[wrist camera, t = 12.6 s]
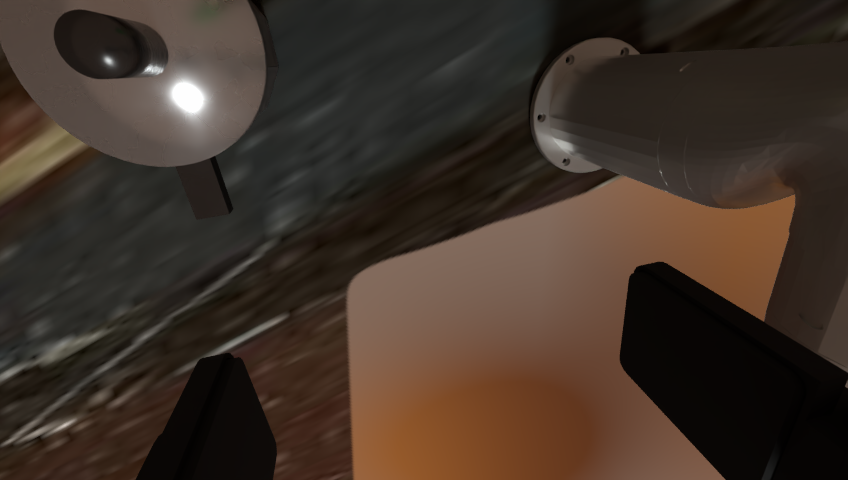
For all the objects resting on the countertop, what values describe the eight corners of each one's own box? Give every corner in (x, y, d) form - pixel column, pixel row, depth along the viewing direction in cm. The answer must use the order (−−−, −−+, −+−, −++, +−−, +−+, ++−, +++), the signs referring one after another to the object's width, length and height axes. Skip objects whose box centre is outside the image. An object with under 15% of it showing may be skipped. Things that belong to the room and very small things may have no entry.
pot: (21, -127, 26) (-104, -204, 18) (227, -140, 27) (185, -215, 20) (161, 202, 35) (115, 236, 28) (307, 178, 37) (298, 205, 30)
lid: (227, -102, 22) (190, -158, 17) (292, 146, 28) (280, 165, 22) (-51, -81, 20) (-194, -135, 15) (80, 178, 26) (12, 207, 21)
